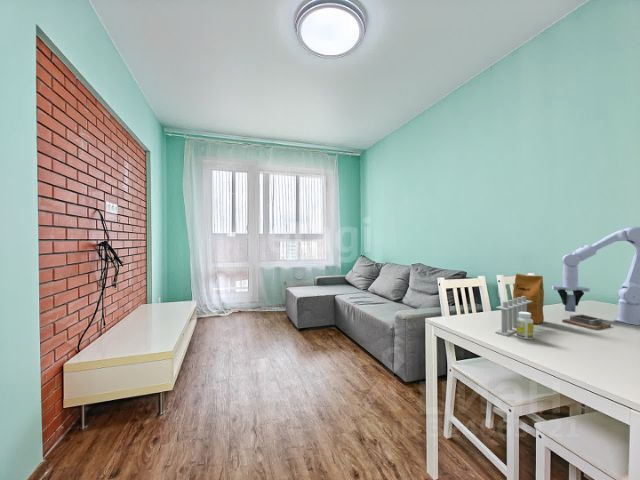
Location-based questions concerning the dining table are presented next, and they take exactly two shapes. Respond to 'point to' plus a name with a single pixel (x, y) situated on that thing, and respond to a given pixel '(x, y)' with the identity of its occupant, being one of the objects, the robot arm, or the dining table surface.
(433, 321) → the dining table surface
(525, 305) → the test tube rack
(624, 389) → the dining table surface
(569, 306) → the tube
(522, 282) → the coffee package
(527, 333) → the supplement bottle
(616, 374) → the dining table surface
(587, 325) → the holder
